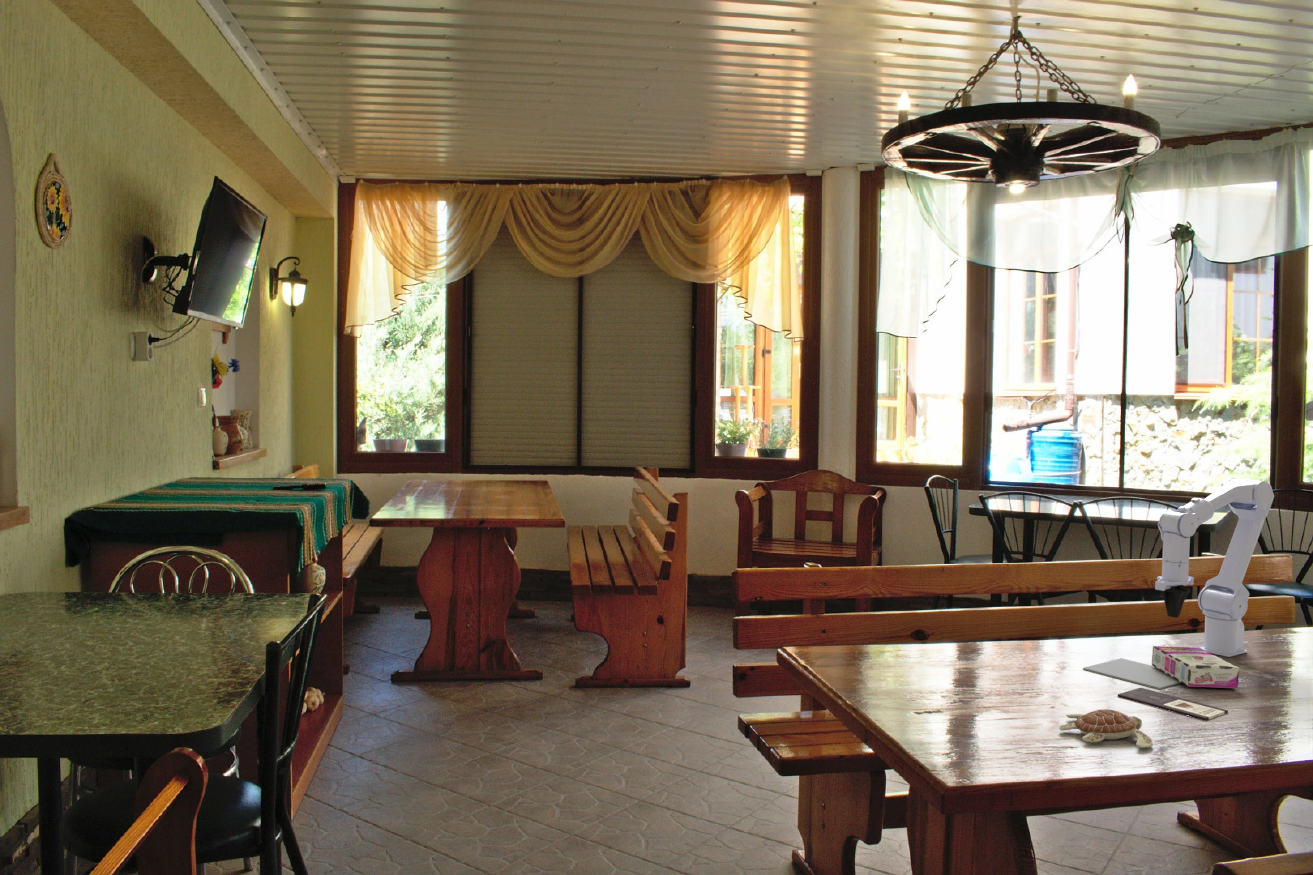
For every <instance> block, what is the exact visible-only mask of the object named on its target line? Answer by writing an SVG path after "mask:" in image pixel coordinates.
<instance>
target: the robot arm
mask: <svg viewBox="0 0 1313 875" xmlns="http://www.w3.org/2000/svg"><path fill="white" fill-rule="evenodd" d="M1274 498H1275V494H1274V492H1273V488H1272V485H1271V484H1270V483H1269V482H1268V481H1266V480H1250V479H1242V478H1240V479H1239V478H1235V477H1230V478H1228V479H1226V480H1224V481H1223V482H1221V486H1220V488H1218V489H1217V490H1215V491H1214V492H1212V493H1211V494H1209V495H1208V496H1206V498H1202V497H1201V498H1200V497H1193V498H1191V499H1190V501H1189V502H1188V503H1186V504H1185V505H1183V506H1179V507H1177V509H1175V510H1174V511H1172V510H1168V511H1166V512H1164V513H1163V514H1161V516H1160V517H1159V520H1158V522H1157V528H1158V530H1159V532H1160V539H1161V541H1162V563H1161V564H1162V566H1161V576H1157V577H1156V580H1157V581H1155V583H1154V589H1155V590H1156V591H1158V592H1160V594H1161V596H1162V599H1163V602H1164V604H1165V609H1166V610H1165V611H1166V614H1167V616H1168V617H1170V618H1175V619H1177V618H1179V617H1180V615H1181V613H1182V609H1183V606H1184V603H1185V601H1186V599H1187V598H1188V595H1189V594H1190V593H1191V588H1189V587H1185V586H1188V585H1189V586H1193V585H1194V584H1195V583H1194V580H1195V577H1193V576H1190V575H1189V574H1190V573H1189V570H1190V569H1189V568H1190V548H1191V547H1190V544H1191V537H1193V536H1194V535H1195V533H1196V531H1197V529H1198V528H1199V526H1200V525H1202V524H1203V523H1206V522H1207V521H1209V520H1211V519H1212V518H1213V516H1214V512H1215V511H1217V510H1219V509H1221V508H1223V507H1225V506H1228V507H1229V508H1230V511H1232V513H1233V514H1235V515H1236V516H1237V517H1238V520H1237V523H1236V527H1235V528H1234V531H1233V535H1232V537H1231V539H1230V543H1229V545H1228V548H1227V551H1226V553H1225V556H1224V558H1223V561H1222V564H1221V567H1220V570H1219V572H1218V575H1217V576H1214V577H1212V578H1210V579H1208V580H1207V581H1206V582H1205V584H1204V587H1203V588H1202V589H1201V590H1200V592H1199V594H1198V595H1197V604H1198V608H1200V610H1201V611H1202V615H1204V616H1205V618H1204V641H1203V646H1199V647H1198V648H1201V649H1203V650H1205V651H1207V652H1209V653H1211V654H1213V655H1217V656H1222V657H1228V658H1231V657H1235V656H1238V655H1242V654H1245V653H1248V650H1247V649H1244V647H1245V646H1244V642H1245V641H1244V640H1245V625H1244V622H1243V621H1242V619H1243V617H1244V616H1245V615H1246V613H1247V611H1248V607H1249V606H1248V605H1249V603H1248V600H1249V597H1250V592H1249V590H1248V589H1247V588H1246V587H1245V585H1244V584H1243V581H1244V578H1245V575H1246V573H1247V571H1248V567H1249V565H1250V561H1251V558H1252V556H1253V554H1254V550H1255V548H1256V545H1257V543H1258V539H1259V537H1260V535H1261V532H1262V529H1263V526H1264V524H1265V520H1266V518H1267V517H1268V515H1269V513H1270V510H1271V507H1272V505H1273V502H1274Z"/></svg>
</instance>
